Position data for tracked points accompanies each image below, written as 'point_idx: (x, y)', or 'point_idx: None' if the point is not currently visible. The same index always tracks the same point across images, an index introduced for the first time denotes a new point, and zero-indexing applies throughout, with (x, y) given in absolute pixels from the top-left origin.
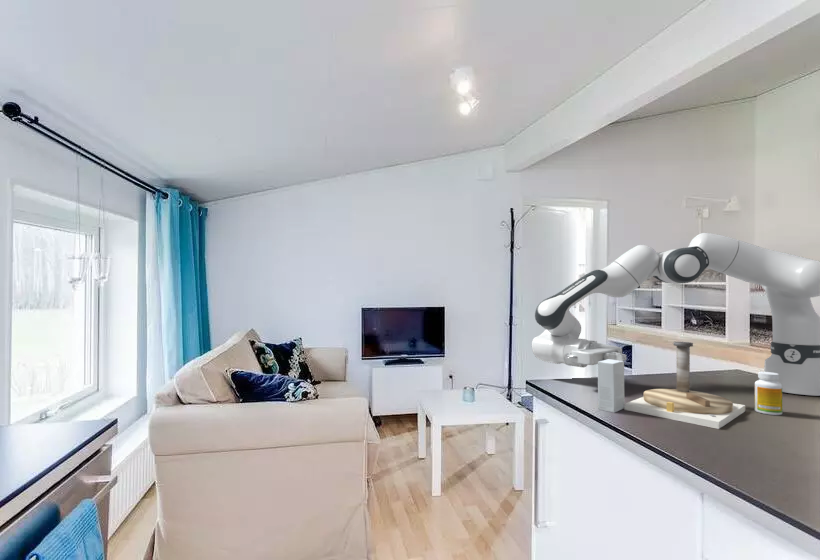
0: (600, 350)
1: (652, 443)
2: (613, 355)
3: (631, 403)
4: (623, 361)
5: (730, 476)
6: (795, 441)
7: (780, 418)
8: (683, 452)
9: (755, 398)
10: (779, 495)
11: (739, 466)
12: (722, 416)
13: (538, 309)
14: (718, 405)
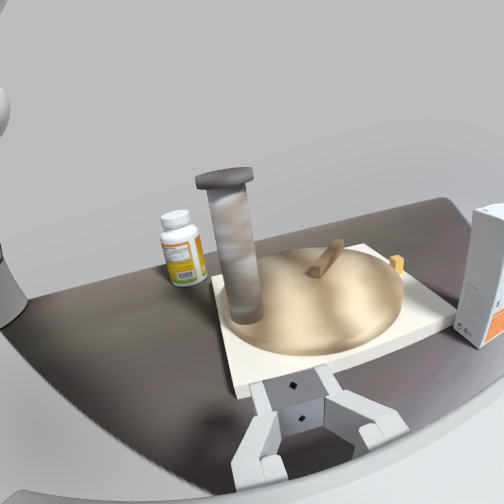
0: (452, 440)
1: None
2: (358, 402)
3: (442, 310)
4: (475, 209)
5: (448, 212)
6: (315, 232)
7: (215, 265)
8: (459, 229)
9: (194, 262)
10: (436, 203)
11: (429, 216)
12: None
13: None
14: (312, 251)
